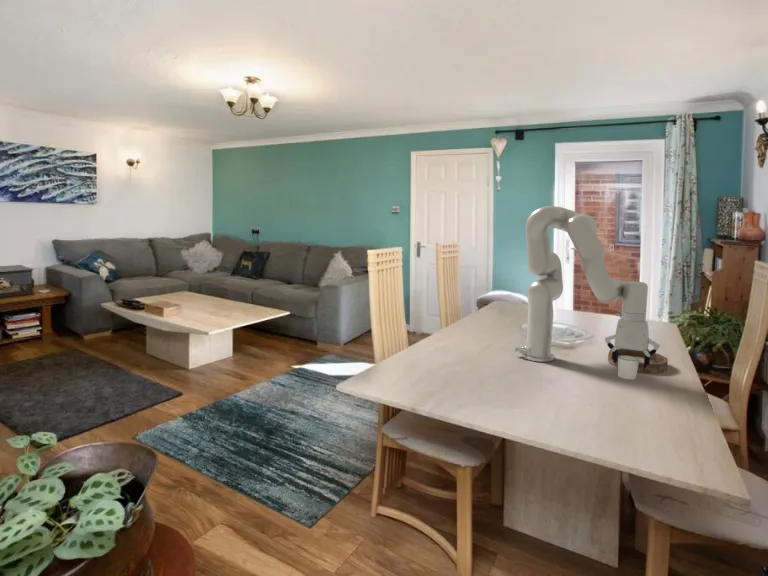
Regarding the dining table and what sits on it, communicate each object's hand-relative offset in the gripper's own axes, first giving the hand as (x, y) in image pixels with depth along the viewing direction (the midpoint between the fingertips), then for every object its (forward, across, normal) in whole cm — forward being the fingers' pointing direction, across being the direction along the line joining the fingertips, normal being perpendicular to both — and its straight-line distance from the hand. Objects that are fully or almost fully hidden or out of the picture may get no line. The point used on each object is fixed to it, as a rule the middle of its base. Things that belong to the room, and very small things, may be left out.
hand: (630, 364), depth 162 cm
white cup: (+5, -1, 0) cm, 5 cm away
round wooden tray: (+5, -1, +18) cm, 18 cm away
